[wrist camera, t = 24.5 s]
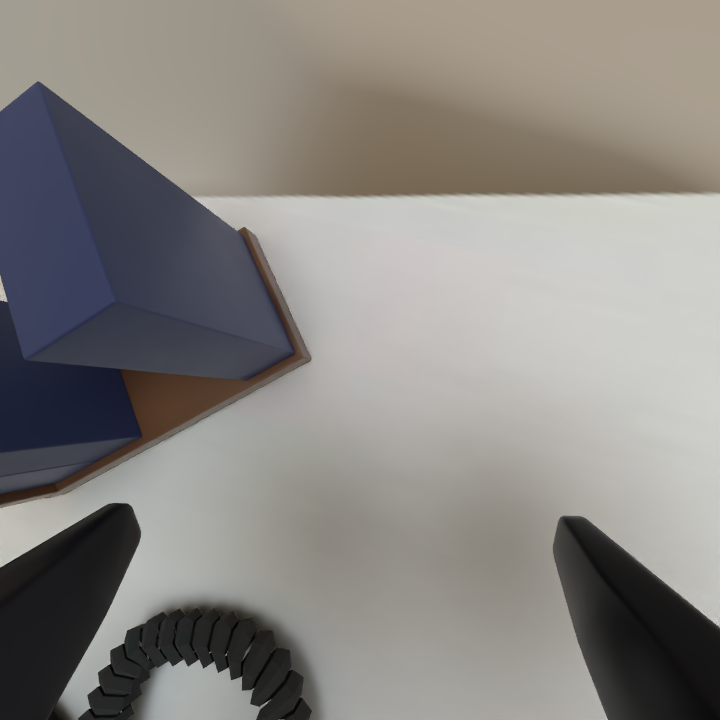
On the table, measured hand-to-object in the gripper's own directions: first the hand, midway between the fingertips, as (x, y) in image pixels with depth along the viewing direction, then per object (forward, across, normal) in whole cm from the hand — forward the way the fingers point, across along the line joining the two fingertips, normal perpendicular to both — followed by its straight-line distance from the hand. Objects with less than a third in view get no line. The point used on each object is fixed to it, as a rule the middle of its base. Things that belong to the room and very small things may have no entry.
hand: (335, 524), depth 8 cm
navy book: (+14, +7, -1) cm, 16 cm away
